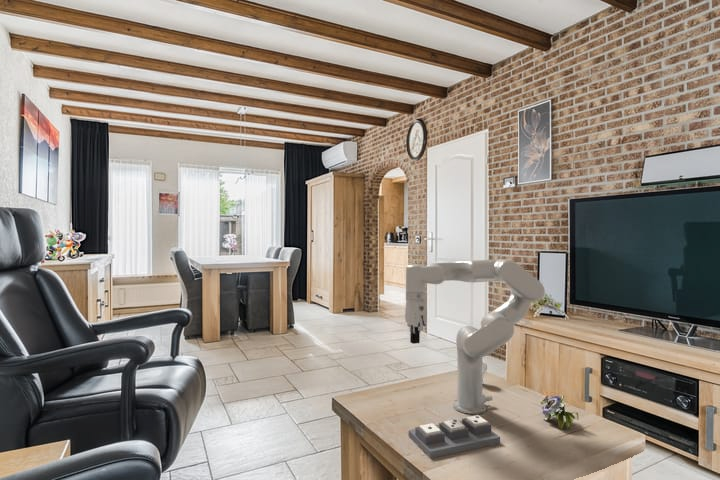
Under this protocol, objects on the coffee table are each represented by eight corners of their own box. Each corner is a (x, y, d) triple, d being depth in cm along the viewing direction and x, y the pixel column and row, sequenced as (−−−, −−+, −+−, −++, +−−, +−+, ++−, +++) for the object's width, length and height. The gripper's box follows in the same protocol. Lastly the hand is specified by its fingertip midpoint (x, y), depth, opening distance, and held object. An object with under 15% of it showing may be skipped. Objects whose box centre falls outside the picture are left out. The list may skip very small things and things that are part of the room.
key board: (473, 423, 141) (473, 411, 141) (500, 443, 128) (500, 429, 128) (408, 436, 132) (408, 422, 132) (430, 458, 119) (430, 443, 119)
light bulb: (469, 380, 183) (470, 357, 183) (483, 380, 184) (483, 357, 184) (475, 386, 177) (475, 361, 177) (489, 386, 177) (489, 361, 177)
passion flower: (546, 435, 144) (535, 400, 151) (577, 431, 143) (564, 397, 150) (552, 429, 135) (540, 393, 142) (585, 425, 134) (571, 389, 141)
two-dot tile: (477, 423, 136) (478, 414, 136) (487, 430, 131) (487, 421, 131) (465, 426, 134) (465, 416, 134) (474, 432, 130) (475, 423, 130)
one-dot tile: (432, 432, 130) (432, 422, 130) (440, 439, 125) (440, 429, 125) (419, 434, 128) (419, 425, 128) (426, 442, 123) (427, 432, 123)
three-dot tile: (455, 427, 133) (455, 418, 133) (464, 434, 128) (464, 425, 128) (443, 430, 131) (443, 420, 131) (451, 437, 127) (451, 427, 127)
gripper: (433, 298, 149) (433, 347, 149) (414, 293, 163) (414, 337, 163) (416, 299, 147) (415, 348, 147) (398, 294, 161) (397, 339, 161)
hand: (414, 342), depth 155 cm, fingers closed
